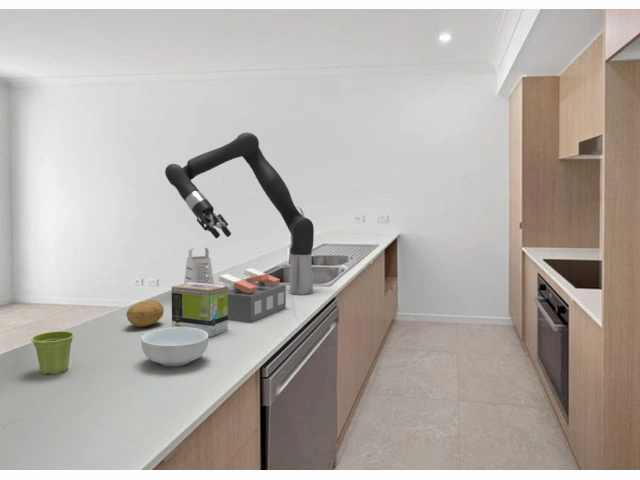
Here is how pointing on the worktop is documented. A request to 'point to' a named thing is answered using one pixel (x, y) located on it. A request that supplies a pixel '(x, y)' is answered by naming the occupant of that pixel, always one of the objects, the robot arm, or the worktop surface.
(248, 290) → the rocker
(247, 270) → the block
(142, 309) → the potato
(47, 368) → the plant pot
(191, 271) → the grater
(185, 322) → the tea box
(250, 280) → the block
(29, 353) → the worktop surface
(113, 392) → the worktop surface
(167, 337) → the cereal bowl
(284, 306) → the switch console
